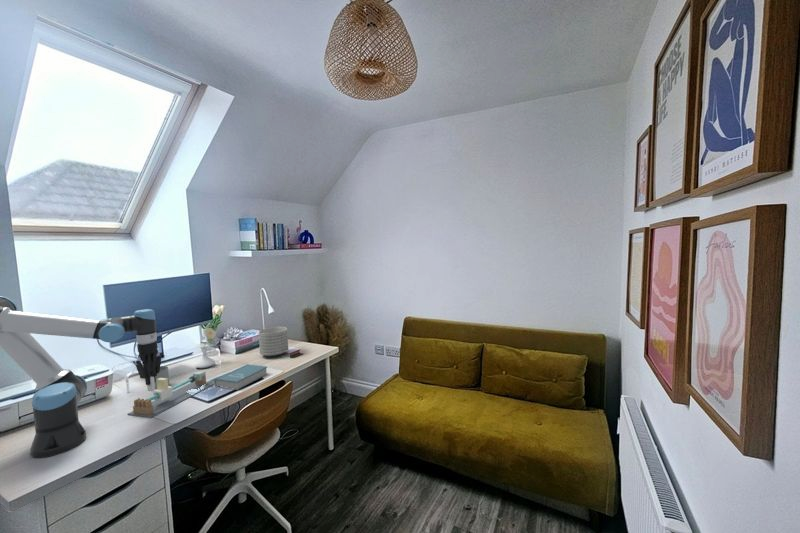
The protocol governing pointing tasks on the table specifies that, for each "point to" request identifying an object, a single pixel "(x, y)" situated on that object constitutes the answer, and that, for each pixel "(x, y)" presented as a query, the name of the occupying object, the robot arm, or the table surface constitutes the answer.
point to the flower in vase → (205, 360)
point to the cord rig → (156, 407)
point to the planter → (273, 341)
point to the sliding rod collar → (163, 389)
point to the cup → (162, 374)
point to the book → (241, 376)
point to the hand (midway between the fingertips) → (151, 390)
